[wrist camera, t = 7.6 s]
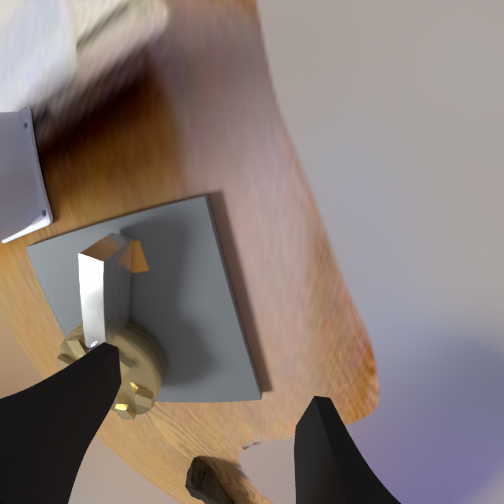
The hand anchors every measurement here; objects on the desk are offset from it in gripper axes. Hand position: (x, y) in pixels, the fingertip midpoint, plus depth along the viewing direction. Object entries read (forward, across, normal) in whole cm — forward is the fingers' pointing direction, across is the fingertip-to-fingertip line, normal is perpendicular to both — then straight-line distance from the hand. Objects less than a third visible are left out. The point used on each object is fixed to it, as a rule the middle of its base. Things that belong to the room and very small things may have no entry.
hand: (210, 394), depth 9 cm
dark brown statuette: (+10, -2, +34) cm, 35 cm away
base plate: (+9, +7, +6) cm, 13 cm away
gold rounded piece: (+8, +8, +6) cm, 13 cm away
